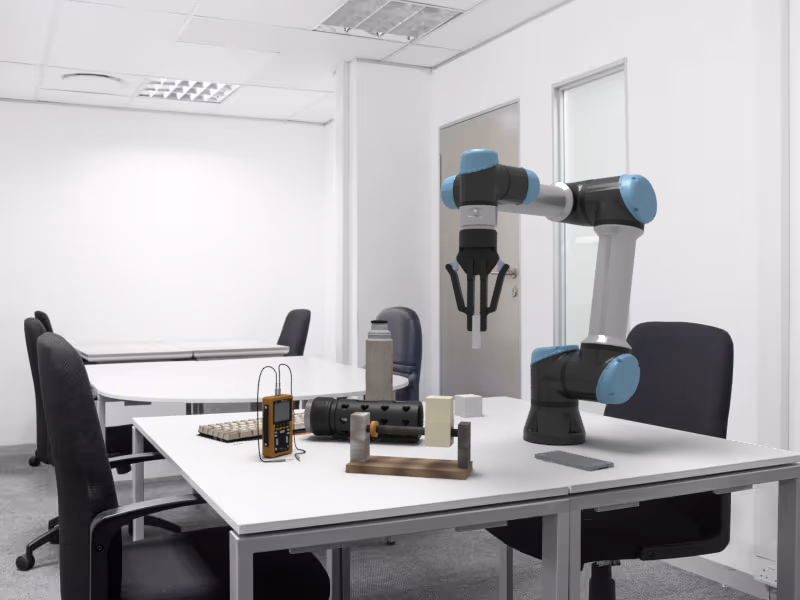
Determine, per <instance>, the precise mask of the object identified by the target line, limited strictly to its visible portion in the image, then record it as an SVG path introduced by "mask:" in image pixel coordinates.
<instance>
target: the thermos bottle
mask: <svg viewBox="0 0 800 600" xmlns="http://www.w3.org/2000/svg"><path fill="white" fill-rule="evenodd" d="M370 324H371V325H370V330H369V331H367V338H366V339H365V374H364V375H365V397H364V398H365V399H364V400H393V399H394V397H393V396H394V395H393V394H394V393H393V391H394V387H393V386H394V382H393V381H394V380H393V379H394V378H393V376H394V339H392V334H391V333H392V332H391V330H389V326H388V320H385V319H374V320H370ZM393 401H394V400H393Z"/></svg>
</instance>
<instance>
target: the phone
mask: <svg viewBox="0 0 800 600" xmlns="http://www.w3.org/2000/svg"><path fill="white" fill-rule="evenodd" d="M535 458H536V459H537V460H540V461H544V462H547V463H553V464H557V465H561V466H564V467H570V468H573V469H578V470H582V471H586V472H594V471H598V470H601V469H606V468H607V469H610V468H614V467H615V463H614V462H612V461H607V460H603V459H599V458H595V457H591V456H585V455H581V454H577V453H573V452H568V451H564V450H552V451H545V452H540V453H538V452H537V453H535V454H534V459H535Z"/></svg>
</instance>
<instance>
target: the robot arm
mask: <svg viewBox="0 0 800 600" xmlns="http://www.w3.org/2000/svg"><path fill="white" fill-rule="evenodd" d="M499 162H500V161H499V155H498V152H496V150H494V149H489V148H474V149H473V148H472V149H467V150H465V151H463V152H462V153H461V155H460V162H459V171H458V173H457V174H455V175H452V176H449V177H446V178H445V179H444V180H443V182H442V183H441V187H440V198H441V201H442V203H443V205H444V206H445V207H447V208H448V209H450V210H458V212H459V214H458V215H459V217H458V220H459V221H458V226H459V227H460V228H461V229H460V230H459V232H458V252H457V255H456V257H455V260H453V261H451V262H450V263H446V264H445V265H444V267H445V268H444V269H445V270H446V271H447V273H448V274H449V277H450V280H451V286H452V291H453V294H454V298H455V303H456V308H457V310H458V312H461V313H463V314H465V315H466V330H467V332H471V334H472V335H471V349H472V350H474V349H475V350H479V349H480V350H481V349H482V338H483V337H482V336H483V335H482V332H487V330H488V316H489V314H492V313H495V312H496V311H497V309H498V305H499V301H500V299H501V298H500V297H501V295H502V289H503V286H504V282H505V278H506V276H507V274H508V272H509V271H510V270H511V265H510V264H509V263H505V262H504V261H502V260H501V258H500V255H499V253H498V231H497V229H495V228H497V227H498V213H499V212H502V213H508V214H509V213H510V214H517V215H518V214H519V215H521V214H522V215H527V216H528V215H529V216H537V217H545V218H546V219H547V220H548V221H550V222H553V223H554V222H555V223H562V224H569V225H573V226H580V227H589V228H590V227H591V228H592V229H593V232H594V233H595V234H596V235H597V237H598V244H597V245H598V246H597V253H596V262H595V270H594V281H593V290H592V299H591V307H590V308H591V309H590V314H589V315H590V317H589V325H588V333H587V336H586V337H585V338H584V339H583V340H581V341H580V346H579V345H578V344H568V345H567V344H566V345H553V346H544V347H543V346H542V347H536V348H534V349H533V350H532V352H531V354H530V355H531V356H530V365H529V367H530V369H529V370H530V371H529V372H530V407H529V411H528V413H527V417H526V420H525V423H524V426H523V429H522V431H523V432H522V434H523V436H522V438H523V440H526V441H527V442H531V443H535V444H543V445H544V444H545V445H555V446H557V445H558V446H560V445H566V446H567V445H578V444H582V443H584V442H586V440H587V436H586V435H587V433H586V429H585V426H584V423H583V422H584V421H583V419H582V416H581V412H580V407H579V404H580V403H579V401H583V402H584V401H585V402H590V403H591V402H592V403H597V404H598V403H599V404H603V405H604V404H605V405H610V404H611V405H621V404H624V403H626V402H627V401H628V400H630V399H631V397H633V395H634V394H635V392H636V390H637V388H638V385H639V382H640V377H641V368H640V366H639V364H640V362H639V361H638V358H636V357H635V355H633V354H632V350H633V348H632V346H631V345H630V344H629V343H628V341H627V333H628V332H627V331H628V322H629V321H628V320H629V313H630V311H629V310H630V304H631V294H632V293H631V292H632V285H633V275H634V266H635V257H636V256H635V255H636V246H637V241H638V239H639V238H640V237H642V236H643V235H644V233H645V226H646V225H647V224H650V223H652V222H653V221H654V219H655V217H656V215H657V212H658V200H657V196H656V192H655V189H654V187H653V185H652V183H651V182H650V180H648V179H647V178H646V177H645V176H644V175H641V174H635V173H634V174H621V175H616V176H609V177H601V178H599V177H598V178H591V179H585V180H579V181H573V182H566V183H565V182H554V183H552V184H543V183H541V182H540V178H539V176H538V175H537V173H535V172H534V171H533V170H532V169H531V170H530V169H527V168H524V167H522V166H520V167H518V166H512V165H507V164H506V165H505V164H501V163H499ZM459 266H460V268H461V269H462V271H463V272H464V273H465V274H466V303H465V299H464V295H463V290H462V286H461V281H460V277H459V274H458V272H459ZM496 266H497V267H496ZM495 267H496V268H497V269H496V270H497V272H498V274H497V276H496V280H495V284H494V288H493V292H492V295H491V300H490V304H488V303H489V302H488V299H489V295H488V294H489V292H488V291H489V286H488V285H489V275H490V274H491V273H492V271H493V270H494V269H495ZM477 276H479V311H478V312H479V314H475V313H476V312H475V306H476V305H475V303H476V302H475V300H476V299H475V297H476V293H475V292H476V277H477Z"/></svg>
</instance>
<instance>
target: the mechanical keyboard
mask: <svg viewBox="0 0 800 600" xmlns="http://www.w3.org/2000/svg"><path fill="white" fill-rule="evenodd" d="M258 421H259V441H260V440H262V417H258ZM197 433H198V434H196V436H198V437H201V438H205V439H207V440H213V441H217V442H224V443H231V444H232V443H233V446H235V445H237V443H239V442H241V443H239V445H241V444H243V442H252V441H258V430H257V418H248V419H243V420H242V419H241V420H235V421H227V422H224V423H223V422H218V423H211V424H202V425H198V431H197ZM294 433H295V436H303V435H309V434H312V433H308V432H307V431H306V429H305V425H304V411H303V412H297V413H295V412H294ZM294 433H293V436H294ZM236 442H237V443H236ZM234 443H236V444H234Z"/></svg>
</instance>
